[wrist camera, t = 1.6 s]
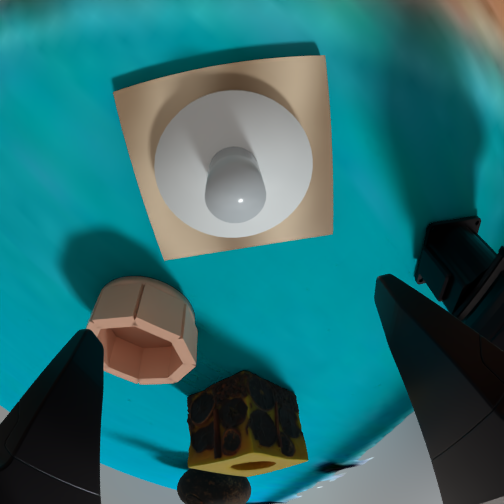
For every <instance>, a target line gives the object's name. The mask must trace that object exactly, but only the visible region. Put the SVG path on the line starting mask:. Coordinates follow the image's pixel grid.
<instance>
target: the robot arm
mask: <svg viewBox="0 0 504 504" xmlns="http://www.w3.org/2000/svg"><path fill="white" fill-rule="evenodd" d="M480 223H481V219H480V218H479V217H478V216H472V217H466V218H459V219H453V220H446V221H440V222H433V223H430V224H429V225H428V227H427V231H426V236H425V240H424V245H423V249H422V254H421V258H420V262H419V266H418V270H417V274H416V277H415V281H416V282H417V284H423V283H426V284H427V285H428V287H429V288H430V290H431V291H432V293H433V294H434V296H435V297H436V299H437V300H438V301H442V302H443V303H444V305H445V306H446V308H447V310H448V311H449V312H448V311H446V310H445V309H443V308H442V307H440V306H439V305H437V304H436V303H435V302H433V301H432V300H430V299H429V298H427V297H426V296H424V295H423V294H421V293H420V292H418V291H417V290H415V289H414V288H412V287H411V286H409V285H407V284H406V283H404V282H403V281H401V280H400V279H398V278H397V277H395V276H394V275H392V274H385V275H381V276H378V277H377V280H376V287H375V295H374V299H375V304H376V307H377V310H378V313H379V316H380V320H381V323H382V326H383V329H384V332H385V336H386V339H387V342H388V345H389V348H390V351H391V353H392V355H393V358H394V360H395V363H396V365H397V367H398V370H399V372H400V375H401V377H402V380H403V382H404V385H405V387H406V390H407V392H408V395H409V398H410V400H411V403H412V406H413V408H414V411H415V414H416V416H417V419H418V422H419V425H420V428H421V431H422V434H423V437H424V440H425V442H426V446H427V449H428V452H429V455H430V458H431V460H432V464H433V468H434V472H435V475H436V479H437V482H438V485H439V489H440V493H441V497H442V501H443V504H504V246H501V248H500V249H499V253H498V254H496V253H495V251H494V250H493V249H492V248H491V247H490V246H489V245H488V244H487V243H486V242H485V241H484V240H483V239H482V238H481V237H480V236H479V235H478V230H479V227H480ZM103 372H104V347H103V345H102V343H101V342H100V340H99V339H98V338H97V337H96V335H95V334H94V333H93V332H92V330H90V329H82V330H79V331H78V332H77V333H76V334H75V335H74V336H73V337H72V338H71V339H70V340H69V342H68V343H67V344H66V345H65V346H64V347H63V348H62V350H61V351H60V352H59V353H58V354H57V355H56V356H55V358H54V359H53V360H52V361H51V362H50V363H49V365H48V366H47V367H46V368H45V369H44V371H43V372H42V373H41V374H40V375H39V377H38V378H37V379H36V380H35V381H34V383H33V384H32V385H31V386H30V388H29V389H28V390H27V391H26V393H25V394H24V395H23V396H22V398H21V399H20V400H19V402H18V403H17V404H16V405H15V407H14V408H13V409H12V410H11V412H10V413H9V414H8V415H7V417H6V418H5V419H4V420H3V422H2V423H1V424H0V504H101V497H100V433H101V414H102V401H103Z"/></svg>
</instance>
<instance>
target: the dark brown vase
mask: <svg viewBox="0 0 504 504" xmlns="http://www.w3.org/2000/svg"><path fill="white" fill-rule="evenodd" d="M177 491H178V495H179V497H180V499H181V500H182V501H183V502H184V503H185V504H245V503H246V502H247V501H248V500H249V498H250V495H251V486H250V483H249V481H248V479H247V478H246V477H244V476H235V475H228V474H221V473H215V472H209V471H203V470H198V469H192V468H191V469H189V470H188V471H187V472H185V473H184V474H183V476H182V477H181V478H180V480H179V482H178V486H177Z"/></svg>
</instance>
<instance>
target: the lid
mask: <svg viewBox="0 0 504 504" xmlns="http://www.w3.org/2000/svg"><path fill="white" fill-rule="evenodd" d="M154 169H155V178H156V183H157V186H158V189H159V192H160V194H161V196H162V198H163V200H164V202H165V203H166V205H167V206H168V207H169V209H170V210H171V211H172V212H173V213H174V214H175V215H176V216H177V217H178V218H179V219H180V220H181V221H183V222H184V223H185V224H187V225H189V226H190V227H192V228H194V229H196V230H198V231H200V232H203V233H206V234H209V235H213V236H217V237H226V238H238V237H247V236H251V235H256V234H259V233H262V232H264V231H267V230H269V229H271V228H273V227H275V226H276V225H278V224H279V223H281V222H282V221H284V220H285V219H286V218H287V217H288V216H289V215H290V214H291V213H292V212H293V211H294V210H295V209H296V208H297V207H298V205H299V204H300V203H301V201H302V199H303V198H304V196H305V194H306V192H307V189H308V187H309V184H310V180H311V176H312V169H313V158H312V151H311V147H310V143H309V140H308V138H307V135H306V133H305V131H304V129H303V128H302V126H301V125H300V123H299V122H298V121H297V119H296V118H295V117H294V116H293V115H292V114H291V113H290V112H289V111H288V110H287V109H286V108H284V107H283V106H282V105H280V104H279V103H277V102H276V101H274V100H273V99H271V98H269V97H266V96H264V95H262V94H259V93H255V92H252V91H245V90H223V91H218V92H213V93H210V94H207V95H205V96H202V97H200V98H198V99H196V100H194V101H192V102H191V103H189V104H188V105H187V106H185V107H184V108H183V109H182V110H181V111H180V112H179V113H178V114H177V115H176V116H175V117H174V118H173V119H172V120H171V121H170V123H169V124H168V125H167V127H166V128H165V130H164V132H163V134H162V135H161V137H160V140H159V143H158V145H157V149H156V154H155V163H154Z"/></svg>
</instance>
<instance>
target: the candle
mask: <svg viewBox="0 0 504 504" xmlns="http://www.w3.org/2000/svg"><path fill="white" fill-rule="evenodd" d="M187 403H188V405H187V407H188V410H187V411H188V412H189V414H187V415H188V419H187V422H188V425H189V431H190V437H191V443H190V447H189V457H188V467H189V468H192V469H198V470H203V471H209V472H215V473H221V474H228V475H235V476H244V477H249V476H254V475H259V474H264V473H268V472H272V471H275V470H279V469H283V468H286V467H290V466H293V465H296V464H300V463H303V462H306V461H308V454H307V449H306V444H305V440H304V436H303V432H302V431H301V424H300V420H299V409H298V404H297V400H296V395H295V394H294V393H292V392H291V391H288V390H287V389H284V388H281V387H280V386H278V385H275V384H274V383H271V382H269V381H267V380H264V379H262V378H260V377H258V376H257V375H255V374H252V373H251V372H249V371H242V372H239V373H237V374H235V375H233V376H232V377H229V378H227V379H224V380H222V381H220V382H218V383H216V384H213V385H211V386H210V387H209V388H206V390H205V391H202V392H199V393H196V394H193V395H191V396H189V397H187Z"/></svg>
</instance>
